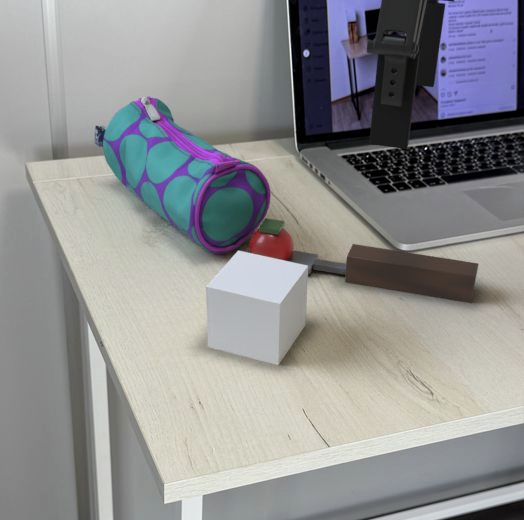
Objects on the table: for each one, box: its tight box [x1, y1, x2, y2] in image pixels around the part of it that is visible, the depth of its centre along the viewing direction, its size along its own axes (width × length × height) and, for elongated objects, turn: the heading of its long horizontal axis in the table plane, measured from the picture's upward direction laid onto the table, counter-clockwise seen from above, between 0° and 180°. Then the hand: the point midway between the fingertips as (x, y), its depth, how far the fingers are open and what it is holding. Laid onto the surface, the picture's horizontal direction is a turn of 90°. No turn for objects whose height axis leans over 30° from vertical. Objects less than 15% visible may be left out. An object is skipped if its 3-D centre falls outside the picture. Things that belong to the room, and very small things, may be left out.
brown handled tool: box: [247, 217, 479, 304], centre depth 77 cm, size 20×4×4 cm, turn 73°
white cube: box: [205, 250, 309, 366], centre depth 69 cm, size 6×6×6 cm
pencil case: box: [93, 95, 271, 255], centre depth 86 cm, size 21×9×10 cm, turn 33°
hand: (404, 112), depth 68 cm, fingers open, 13 cm apart
